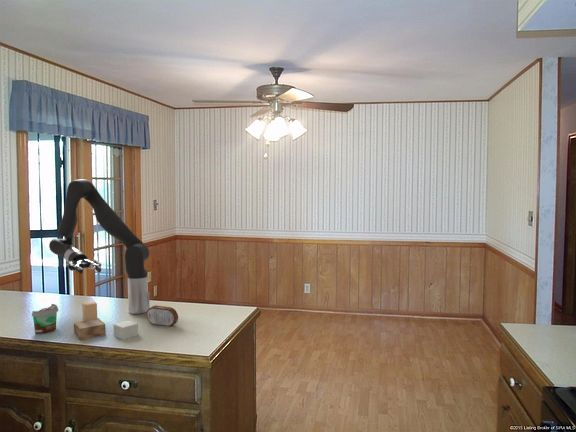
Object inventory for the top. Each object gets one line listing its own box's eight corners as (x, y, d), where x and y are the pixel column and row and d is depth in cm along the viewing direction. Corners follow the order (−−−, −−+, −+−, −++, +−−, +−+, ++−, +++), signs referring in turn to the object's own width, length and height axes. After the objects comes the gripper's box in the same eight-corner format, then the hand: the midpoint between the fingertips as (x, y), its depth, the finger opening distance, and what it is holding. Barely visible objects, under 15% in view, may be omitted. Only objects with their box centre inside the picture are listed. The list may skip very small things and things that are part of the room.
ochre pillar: (94, 322, 206) (94, 300, 205) (97, 325, 202) (96, 303, 201) (83, 324, 203) (82, 302, 202) (85, 327, 199) (84, 305, 198)
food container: (45, 336, 188) (44, 312, 187) (32, 335, 189) (31, 311, 189) (65, 326, 200) (64, 304, 199) (53, 325, 202) (52, 303, 201)
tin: (178, 325, 201) (178, 307, 201) (174, 328, 198) (174, 309, 198) (150, 322, 206) (149, 304, 206) (145, 324, 203) (145, 306, 203)
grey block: (129, 331, 194) (128, 320, 194) (138, 335, 190) (137, 323, 189) (113, 336, 189) (113, 324, 188) (123, 339, 184) (122, 327, 184)
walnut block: (98, 329, 197) (98, 318, 197) (105, 335, 189) (105, 324, 189) (74, 334, 191) (73, 322, 191) (80, 340, 183) (79, 328, 183)
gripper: (61, 251, 211) (77, 264, 201) (91, 250, 222) (107, 262, 212) (59, 266, 213) (74, 279, 203) (88, 264, 224) (104, 277, 214)
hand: (91, 271), depth 208 cm, fingers open, 8 cm apart
